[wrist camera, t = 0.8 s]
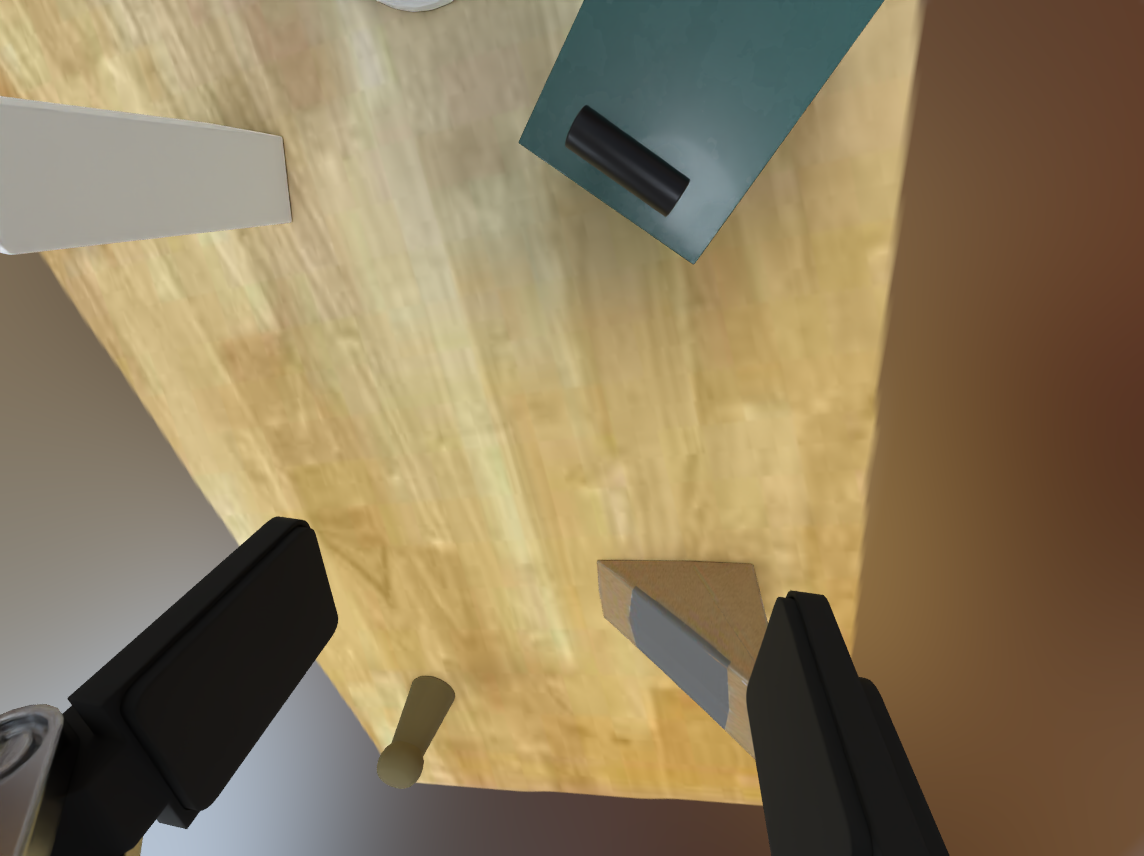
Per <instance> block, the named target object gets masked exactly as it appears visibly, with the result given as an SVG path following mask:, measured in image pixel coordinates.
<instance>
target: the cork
mask: <svg viewBox="0 0 1144 856" xmlns="http://www.w3.org/2000/svg"><path fill="white" fill-rule="evenodd" d="M454 698H455V694H454V691H453V690H452V688H451V687H450V686H449V685H448V684H447V683H445V682H444V681H442V680H440V679H437V678H434V677H429V676H422V677H418V678H416V679H415V680H414V681H413V682H412V685H411V688H410V691H409V694H408V697H407V700H406V703H405V706H404V709H403V711H402V714H401V717H400V720H399V723H398V726H397V729H396V732H395V735H394V738H393V740H392V743H391V744H390V745H389V746H387V747H386V748H385V750H384V751H383V752H382V753H381V755H380V757H379V760H378V764H377V773H378V776H379V778H380V779H381V780H382V781H383V782H384V783H386V784H387V785H389V786H392V787H395V788H400V789H401V788H408V787H411V786H412V785H413V784H414V783H415V782H416V781H417V780H418V779H419V777H420V775H421V772H422V769H423V764H424V760H423V756H424V754H425V752H426V750H427V748H428V747H429V745H430V743H431V741H432V739H433V737H434V736H435V734H436V732H437V730H438V728H439V727H440V725H441V723H442V721H443V719H444V717H445V716H446V714H447V712H448V710H449V708H450V707H451V705H452V703H453V701H454Z"/></svg>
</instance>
